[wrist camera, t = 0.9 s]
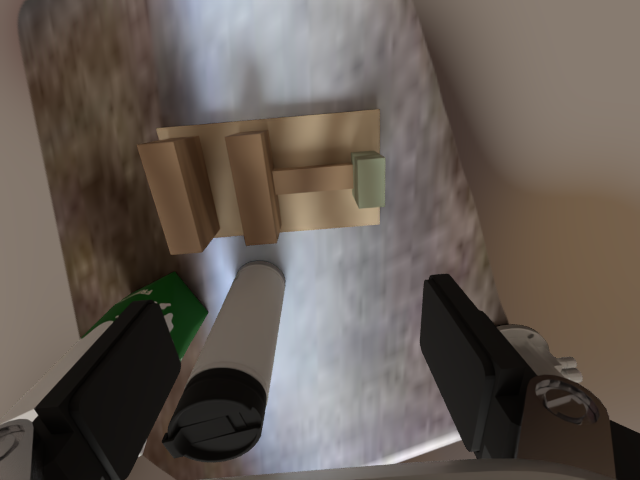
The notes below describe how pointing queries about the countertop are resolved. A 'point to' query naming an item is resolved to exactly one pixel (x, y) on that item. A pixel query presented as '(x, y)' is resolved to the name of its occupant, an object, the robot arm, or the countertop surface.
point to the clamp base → (217, 183)
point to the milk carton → (167, 292)
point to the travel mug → (231, 372)
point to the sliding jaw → (293, 182)
